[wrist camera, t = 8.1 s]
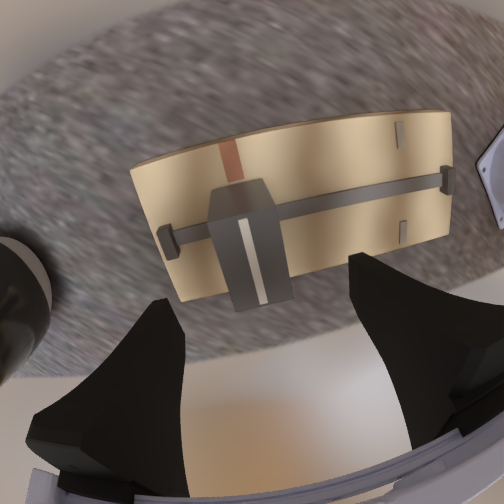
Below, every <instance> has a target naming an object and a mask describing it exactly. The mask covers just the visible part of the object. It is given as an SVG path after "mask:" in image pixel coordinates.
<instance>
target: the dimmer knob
mask: <svg viewBox="0 0 504 504" xmlns="http://www.w3.org/2000/svg"><path fill="white" fill-rule="evenodd" d="M207 225H208V229H209V232H210V235H211V238H212V241H213V245H214V248H215V251H216V254H217V257H218V260H219V263H220V266H221V270H222V273H223V276H224V279H225V282H226V285H227V288H228V291H229V294H230V297H231V300H232V303H233V306H234V309H235V312H238V311H243V310H247V309H252V308H256V307H261V306H265V305H269V304H273V303H278V302H282V301H286V300H290V299H294V298H293V292H292V286H291V281H290V275H289V269H288V264H287V259H286V253H285V248H284V242H283V237H282V232H281V227H280V222H279V217H278V211H277V206H276V204H275V202H274V200H273V198H272V196H271V194H270V192H269V190H268V188H267V186H266V184H265V183H264V181H263V179H262V178H261V179H257V180H253V181H248V182H244V183H240V184H236V185H232V186H228V187H224V188H220V189H216V190H212V191H211V195H210V202H209V210H208V218H207Z"/></svg>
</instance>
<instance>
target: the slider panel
mask: <svg viewBox="0 0 504 504" xmlns="http://www.w3.org/2000/svg"><path fill="white" fill-rule="evenodd" d="M130 173H131V176H132V179H133V182H134V185H135V188H136V191H137V193H138V196H139V199H140V202H141V205H142V207H143V210H144V213H145V215H146V218H147V221H148V223H149V226H150V229H151V231H152V234H153V236H154V239H155V241H156V244H157V246H158V249H159V251H160V254H161V256H162V259H163V261H164V264H165V266H166V268H167V271H168V273H169V275H170V278H171V280H172V282H173V285H174V287H175V289H176V292H177V294H178V296H179V298H180V301H181V302H184V301H188V300H193V299H198V298H202V297H207V296H211V295H216V294H220V293H225V292H229V291H228V288H227V285H226V282H225V279H224V276H223V273H222V270H221V266H220V263H219V260H218V257H217V254H216V251H215V248H214V245H213V241H212V238H211V235H210V232H209V229H208V225H207V218H208V210H209V202H210V195H211V191H212V190H216V189H220V188H224V187H228V186H232V185H236V184H240V183H244V182H248V181H253V180H257V179H261V178H262V179H263V181H264V183H265V184H266V186H267V188H268V190H269V192H270V194H271V196H272V198H273V200H274V202H275V204H276V206H277V211H278V217H279V222H280V227H281V232H282V237H283V242H284V248H285V253H286V259H287V264H288V269H289V275H290V277H293V276H297V275H301V274H305V273H309V272H313V271H317V270H321V269H325V268H329V267H333V266H337V265H341V264H344V263H348V255H352V254H356V253H360V252H364V253H366V254H368V255H370V256H374V255H378V254H382V253H385V252H389V251H393V250H396V249H400V248H403V247H407V246H410V245H414V244H417V243H421V242H424V241H428V240H431V239H434V238H438V237H441V236H445V235H448V234H449V226H450V215H451V200H452V195H454V194H455V168H453V159H452V129H451V115H450V112H446V111H440V110H406V111H389V112H376V113H365V114H356V115H347V116H339V117H331V118H324V119H317V120H310V121H304V122H298V123H292V124H287V125H281V126H276V127H271V128H266V129H261V130H257V131H252V132H247V133H243V134H239V135H234V136H230V137H226V138H222V139H218V140H214V141H210V142H207V143H203V144H199V145H196V146H192V147H189V148H185V149H182V150H178V151H175V152H172V153H169V154H165V155H162V156H159V157H156V158H153V159H150V160H147V161H144V162H141V163H138V164H137V165H136V166H134V167H133V168H132V169H130Z"/></svg>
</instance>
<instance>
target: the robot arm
mask: <svg viewBox="0 0 504 504" xmlns="http://www.w3.org/2000/svg"><path fill="white" fill-rule="evenodd" d="M477 169H478V171H479V174H480V176H481V178H482V181H483V184H484V186H485V189H486V191H487V194H488V197H489V199H490V202H491V205H492V208H493V211H494V214H495V217H496V220H497V224H498V227H499V228H500V229H503V228H504V128H503V129H502V130H501V132H500V133H499V135H498V136H497V137H496V139H495V140H494V141H493V143H492V144H491V145H490V147H489V148H488V149H487V150H486V152H485V153H484V154H483V156H482V157H481V158H480V159H479V161H478V162H477ZM348 263H349V291H350V299H351V301H352V303H353V306H354V308H355V311H356V313H357V315H358V317H359V319H360V321H361V323H362V324H363V326H364V328H365V329H366V331H367V333H368V335H369V336H370V338H371V340H372V342H373V343H374V345H375V346H376V349H377V350H378V352H379V354H380V356H381V357H382V359H383V361H384V363H385V365H386V368H387V370H388V373H389V375H390V378H391V380H392V383H393V385H394V388H395V391H396V394H397V397H398V400H399V402H400V405H401V409H402V412H403V415H404V419H405V422H406V426H407V430H408V434H409V438H410V441H411V446H412V451H410V452H408V453H405V454H403V455H400V456H398V457H396V458H393V459H391V460H388V461H386V462H383V463H380V464H378V465H375V466H372V467H369V468H366V469H363V470H360V471H357V472H354V473H351V474H347V475H345V476H341V477H337V478H334V479H330V480H326V481H322V482H318V483H314V484H310V485H305V486H300V487H295V488H290V489H284V490H278V491H272V492H265V493H257V494H249V495H238V496H225V497H203V498H202V497H201V498H190V495H189V491H188V485H187V480H186V475H185V468H184V461H183V452H182V441H181V424H180V403H181V393H182V383H183V375H184V365H185V334H184V332H183V330H182V328H181V326H180V324H179V322H178V320H177V318H176V316H175V314H174V312H173V309H172V307H171V305H170V303H169V301H168V299H167V298H164V299H160V300H155V301H153V302H152V303H151V304H150V305H149V306H148V308H147V309H146V310H145V311H144V313H143V314H142V315H141V317H140V318H139V319H138V321H137V322H136V323H135V324H134V326H133V327H132V328H131V330H130V331H129V332H128V334H127V335H126V336H125V337H124V339H123V340H122V341H121V342H120V343H119V345H118V346H117V347H116V348H115V349H114V351H113V352H112V353H111V354H110V355H109V356H108V358H107V359H106V360H105V361H104V362H103V363H102V364H101V365H100V366H99V367H98V368H97V369H96V370H95V371H94V372H93V373H92V374H91V375H89V376H88V377H87V378H86V379H85V380H84V381H83V382H81V383H80V384H79V385H78V386H77V387H76V388H74V389H73V390H72V391H71V392H69V393H68V394H67V395H65V396H64V397H62V398H61V399H60V400H58V401H57V402H55V403H53V404H52V405H50V406H49V407H47V408H45V409H43V410H42V411H40V412H38V413H37V414H35V415H34V416H33V419H32V422H31V425H30V428H29V431H28V434H27V437H26V441H25V442H26V444H27V446H28V447H29V448H30V449H31V450H32V451H33V452H34V453H35V454H37V455H38V456H39V457H41V458H42V459H44V460H45V461H47V462H48V463H50V464H51V465H53V466H54V467H56V468H57V469H59V470H60V474H59V476H57V475H55V474H52V473H49V472H46V471H43V470H39V469H36V468H33V470H32V474H31V478H30V482H29V487H28V492H27V497H26V503H25V504H326V503H330V502H334V501H338V500H341V499H345V498H348V497H351V496H355V495H358V494H361V493H364V492H367V491H370V490H373V489H376V488H379V487H381V486H384V485H386V484H389V483H392V482H394V481H397V480H399V479H401V480H399V481H397V482H395V483H394V485H393V487H394V488H393V489H392V490H390V491H389V492H387V493H386V494H384V495H383V496H380V497H377V498H374V499H370V500H367V501H364V502H360V503H357V504H466V503H467V502H468V501H470V500H472V499H473V498H475V497H476V496H477V495H479V494H480V493H482V492H483V491H484V490H486V489H487V488H489V487H490V486H491V485H493V484H494V483H495V482H497V481H498V480H499V479H500V478H501V477H503V476H504V306H503V305H494V304H489V303H483V302H478V301H474V300H469V299H466V298H463V297H459V296H455V295H452V294H449V293H446V292H444V291H441V290H438V289H436V288H433V287H431V286H428V285H426V284H423V283H421V282H419V281H417V280H415V279H413V278H411V277H409V276H407V275H405V274H403V273H401V272H399V271H397V270H395V269H393V268H392V267H390V266H388V265H386V264H384V263H382V262H381V261H379V260H377V259H375V258H373V257H372V256H370V255H368V254H366V253H364V252H360V253H356V254H352V255H348ZM406 476H407V477H406ZM404 477H405V478H404ZM402 478H403V479H402Z"/></svg>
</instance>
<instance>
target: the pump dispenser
mask: <svg viewBox="0 0 504 504" xmlns="http://www.w3.org/2000/svg"><path fill="white" fill-rule="evenodd" d="M51 307H52V291H51V285H50V281H49V278H48V275H47V273H46V271H45V268H44V267H43V265H42V263H41V262H40V260H39V259H38V257H37V256H36V255H35V254H34V253H33V252H32V251H31V250H30V249H29V248H28V247H27V246H25V245H24V244H22V243H21V242H19V241H17V240H15V239H12V238H8V237H0V388H1V387H2V386H3V385H4V384H5V383H6V382H7V381H9V380H10V379H11V378H12V377H13V376H14V375H15V374H16V373H17V372H18V370H19V369H20V368H21V367H22V366H23V365H24V364H25V362H26V361H27V360H28V359H29V357H30V356H31V355H32V354H33V352H34V351H35V350H36V348H37V347H38V346H39V344H40V343H41V341H42V340H43V338H44V336H45V335H46V333H47V331H48V329H49V326H50V313H51Z"/></svg>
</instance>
